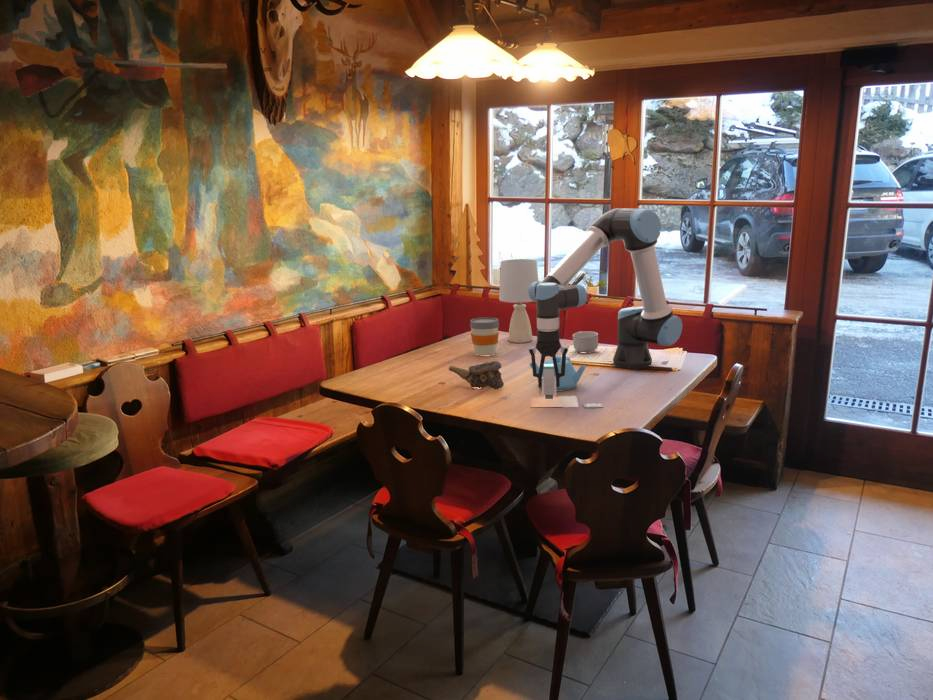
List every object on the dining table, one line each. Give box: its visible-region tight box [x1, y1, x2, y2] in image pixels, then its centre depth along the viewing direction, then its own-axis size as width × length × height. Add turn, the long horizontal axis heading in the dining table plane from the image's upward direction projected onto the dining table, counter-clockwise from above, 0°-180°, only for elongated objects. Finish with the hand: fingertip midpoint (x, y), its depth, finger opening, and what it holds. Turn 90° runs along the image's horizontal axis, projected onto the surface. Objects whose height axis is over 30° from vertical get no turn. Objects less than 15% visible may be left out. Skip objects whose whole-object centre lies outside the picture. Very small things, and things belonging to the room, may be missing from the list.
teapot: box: [529, 355, 587, 392], centre depth 277 cm, size 15×17×11 cm
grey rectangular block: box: [543, 364, 554, 399], centre depth 260 cm, size 4×4×12 cm
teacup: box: [572, 330, 599, 353], centre depth 328 cm, size 14×11×8 cm
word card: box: [583, 402, 604, 409], centre depth 253 cm, size 6×4×1 cm, turn 86°
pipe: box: [448, 360, 504, 390], centre depth 280 cm, size 9×22×10 cm, turn 73°
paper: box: [558, 395, 579, 408], centre depth 259 cm, size 16×12×1 cm
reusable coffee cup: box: [469, 317, 500, 356], centre depth 329 cm, size 13×13×15 cm
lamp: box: [498, 258, 539, 344], centre depth 350 cm, size 19×19×37 cm
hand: (549, 395), depth 261 cm, fingers closed on grey rectangular block, 3 cm apart
